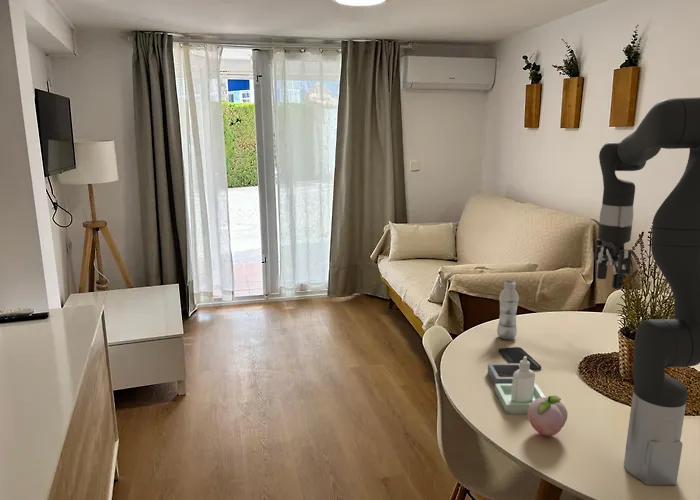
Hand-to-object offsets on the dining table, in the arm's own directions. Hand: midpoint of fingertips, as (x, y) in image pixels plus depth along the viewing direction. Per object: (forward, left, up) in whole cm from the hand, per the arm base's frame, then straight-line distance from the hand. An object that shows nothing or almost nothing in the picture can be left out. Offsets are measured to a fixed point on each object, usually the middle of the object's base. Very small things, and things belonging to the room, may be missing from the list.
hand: (608, 283), depth 135 cm
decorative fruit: (-22, +22, -30) cm, 43 cm away
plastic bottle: (+35, +15, -30) cm, 49 cm away
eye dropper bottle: (-7, +23, -30) cm, 38 cm away
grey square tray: (+5, +23, -30) cm, 38 cm away
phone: (+18, +16, -31) cm, 39 cm away
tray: (-7, +23, -30) cm, 39 cm away
